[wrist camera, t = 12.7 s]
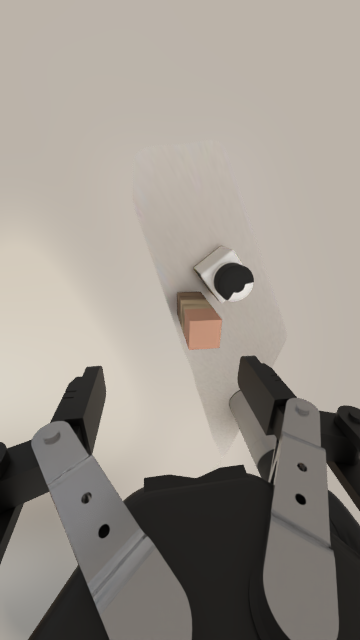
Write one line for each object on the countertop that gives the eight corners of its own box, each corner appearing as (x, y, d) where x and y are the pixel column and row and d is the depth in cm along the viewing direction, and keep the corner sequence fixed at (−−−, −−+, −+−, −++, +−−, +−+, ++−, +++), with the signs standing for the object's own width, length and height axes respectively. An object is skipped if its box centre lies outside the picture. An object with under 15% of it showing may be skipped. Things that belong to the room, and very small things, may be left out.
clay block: (213, 308, 38) (222, 319, 33) (211, 333, 40) (219, 347, 35) (184, 309, 37) (189, 321, 33) (184, 335, 39) (189, 349, 35)
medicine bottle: (192, 267, 45) (207, 282, 34) (220, 245, 44) (245, 252, 33) (211, 293, 47) (230, 314, 37) (238, 272, 46) (266, 287, 36)
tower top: (204, 322, 44) (211, 333, 40) (180, 323, 44) (184, 335, 39) (206, 299, 42) (212, 308, 38) (180, 300, 42) (184, 309, 37)
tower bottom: (199, 313, 49) (204, 322, 44) (177, 314, 48) (180, 323, 44) (200, 291, 47) (206, 299, 42) (177, 292, 46) (180, 299, 42)
